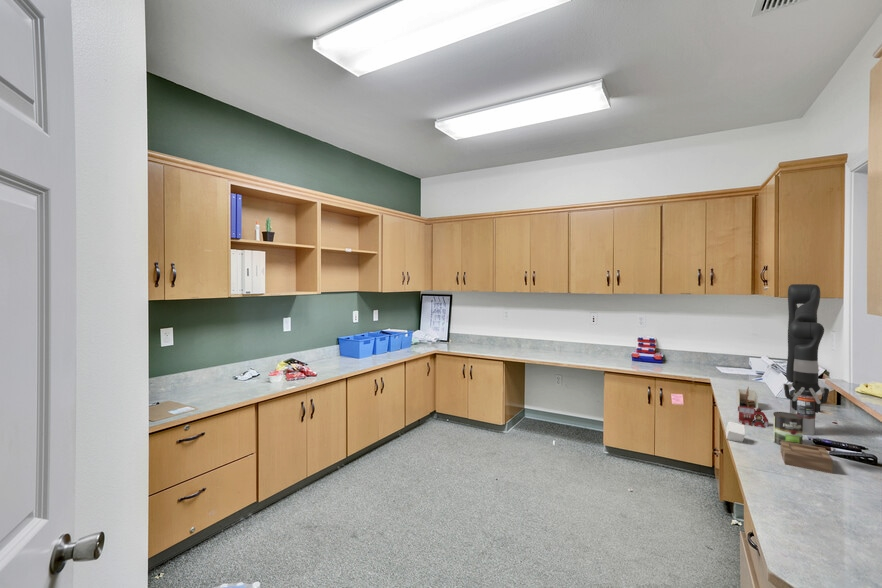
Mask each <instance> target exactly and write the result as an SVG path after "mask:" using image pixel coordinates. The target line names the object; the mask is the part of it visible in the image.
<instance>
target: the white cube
mask: <svg viewBox="0 0 882 588" xmlns="http://www.w3.org/2000/svg"><path fill="white" fill-rule="evenodd" d="M745 432H746V430H745V425H743V424H742V423H738V422H733V421H728V422H727V425H726V429H725V436H726V438H725V439H726V440H729V441H733V442H738V443H743V441H744V439H745V436H746V433H745Z"/></svg>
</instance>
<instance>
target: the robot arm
mask: <svg viewBox="0 0 882 588" xmlns="http://www.w3.org/2000/svg"><path fill="white" fill-rule="evenodd" d="M820 301H821V289H820V286H819V285H818V284H814V283H813V284H811V283H810V284H807V283H806V284H805V283H798V284H797V283H793V284H792V283H791V284H790V285H789V286H788V288H787V307H788V323H787V324H788V325H787V359H786V361H787V362H786V369H785V370H786V371H785V375H786V380H787V381H788V382H789V383H783V390H784V395H785V398H786V399H787V400H789V413H792V414H796V410H797V401H796V400H797V398H798V397H799V396H800V395H801V393H802V392H803V391H804V390H805V391H810V392H811V395H812V396H813V397H814V398H815V405H816V406H815V407H816V414H818V413H819V412H820V411H821V404H826V403H828V398H829V394H830V389H829V388H828V387H824V386H823V387H821V386H820V385H819V371H820V369H819V362H818V354H819V347H820V344H821V340H822V338H823V337H824V334H825V327H824V326H823V324H821V323H819V322H818V310H819V309H818V308H819V306H820ZM798 305H800V306H799V307H798ZM792 388H793V389H792ZM791 389H792V390H791ZM819 391H820V392H821V393H822V394H821V399H819V397H818V394H817V393H818V392H819ZM814 435H816V418H815V419H805V418H803V436H814Z"/></svg>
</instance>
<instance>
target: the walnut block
mask: <svg viewBox="0 0 882 588" xmlns="http://www.w3.org/2000/svg"><path fill="white" fill-rule="evenodd" d="M780 455H781V457H782V461H783V463H784V465H785V466H791V467H796V468H800V469H801V468H802V469H806V470H811V471H815V472H816V471H817V472H822V473H825V474H826V473H827V474H831V475H832V474H833V469H834V460H833V458H832V457H831V455H830V453H829V452H828V450H827V449H826V448H825V447H819V446H815V445H808V444H804V443H803V444H798V443H792V442H786V441H781V445H780Z"/></svg>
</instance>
